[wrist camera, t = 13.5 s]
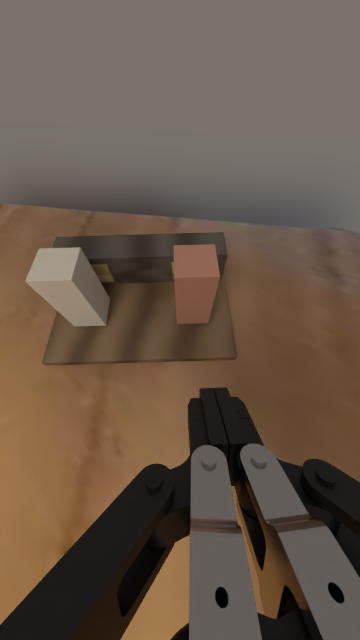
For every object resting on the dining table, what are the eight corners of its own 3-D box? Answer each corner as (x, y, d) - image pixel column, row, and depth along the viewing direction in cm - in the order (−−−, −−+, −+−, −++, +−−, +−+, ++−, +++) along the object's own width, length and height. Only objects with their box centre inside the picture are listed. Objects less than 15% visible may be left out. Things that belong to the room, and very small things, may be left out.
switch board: (46, 365, 24) (9, 348, 19) (75, 266, 32) (53, 234, 27) (234, 359, 25) (249, 341, 19) (219, 261, 32) (226, 229, 27)
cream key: (74, 326, 25) (25, 281, 17) (80, 300, 27) (38, 248, 19) (105, 325, 25) (71, 280, 17) (110, 299, 27) (80, 247, 19)
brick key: (176, 324, 25) (174, 278, 17) (176, 297, 27) (173, 245, 19) (208, 323, 25) (219, 276, 17) (205, 297, 27) (214, 244, 19)
